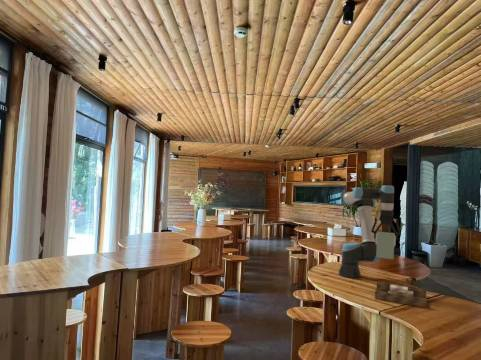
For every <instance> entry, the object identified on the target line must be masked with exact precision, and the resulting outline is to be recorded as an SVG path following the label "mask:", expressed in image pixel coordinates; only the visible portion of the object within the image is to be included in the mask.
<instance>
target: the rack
mask: <svg viewBox="0 0 481 360" xmlns="http://www.w3.org/2000/svg"><path fill="white" fill-rule="evenodd" d="M390 284H391V285H397V286H404V287H408V291H413V297H412V296H406V295H400V294H394V293H388V291H390ZM374 299H375V300H380V301H385V302H386V301H387V302H391V303H397V304H401V303H402V305H408V306H412V307H418V308H419V307H420V308H425V309H427V307H428V298H427V288H423V287H417V286H416V287H415V286H410V285H404V284H396V283H389V282H384V281H378V280H377V283H376V290H375V292H374Z"/></svg>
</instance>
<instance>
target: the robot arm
mask: <svg viewBox="0 0 481 360" xmlns="http://www.w3.org/2000/svg"><path fill="white" fill-rule="evenodd" d="M394 199H395V186H394V185H385V184H384V185H381V187H380V188H379V187H378V188H377V187H375V188H374V187H361V186H360V187H354V188H353V189H352V191H346V192H345V193H343V194H342V197H341V200H342V202H343V203H344V205H346V206H348V207H350V208H351V207H353V208H356V210H357V212H359V213H358V214H359V222H360V231H361V242H346V243H343V244H342V248H341V265H340V267H339V269H338V275H339V276H341V277H342V278H349V279H359V278H361V275H362V274H361V270H360V266H359V263H360V262H362V263H363V262H365V263H378V262H379V261H380V260H381V258H379V257H376V250H377V232H379V230H380V228H381V227H382V225H388V226H390V227H391V229H392V231H393V233H395V235H394V247H396V241H397V242H398V238H399V236H401V235H402V233H401V229H400V225H399V219H398V218H394V205H395V203H394ZM376 200H378V201H380V209H381V210H379V212H380V213H379V217H375V218H374V222H373V215H372V210H374V208H375V206H376ZM378 221H380V223H379V224H378V226H377V228H376V225H377V223H378ZM393 221H394V223H395V224H396V229H397V230H396V229H395V227H394V225H393ZM375 228H376V229H375Z"/></svg>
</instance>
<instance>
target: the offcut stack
mask: <svg viewBox="0 0 481 360" xmlns="http://www.w3.org/2000/svg"><path fill="white" fill-rule="evenodd" d="M388 293H394V294H400V295H406V296H412V297H413V291H408V287H404V286H397V285H391V284H390V291H388Z"/></svg>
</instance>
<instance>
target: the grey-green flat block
mask: <svg viewBox="0 0 481 360" xmlns="http://www.w3.org/2000/svg"><path fill="white" fill-rule="evenodd" d="M376 234H377V250H376V257H379V258H380V259H381V258H382V259H387V260H394V255H395V246H394V235H395V233H394V232H386V231H385V232H384V231H377V233H376Z"/></svg>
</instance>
